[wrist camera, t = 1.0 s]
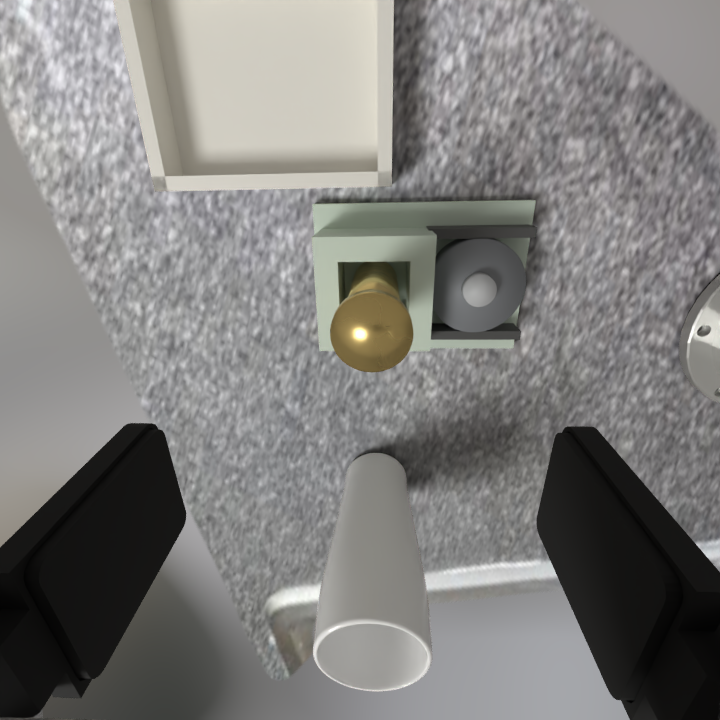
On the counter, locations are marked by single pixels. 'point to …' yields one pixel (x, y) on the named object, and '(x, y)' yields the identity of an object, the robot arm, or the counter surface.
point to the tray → (262, 91)
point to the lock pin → (372, 321)
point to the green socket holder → (430, 265)
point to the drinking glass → (374, 585)
